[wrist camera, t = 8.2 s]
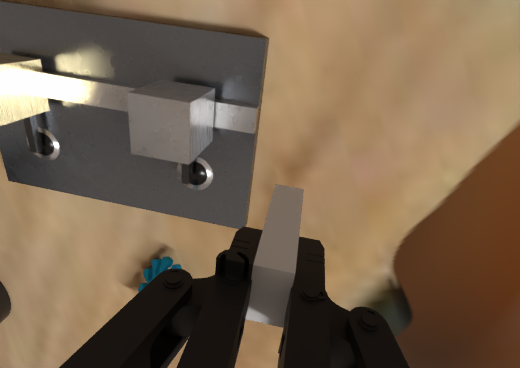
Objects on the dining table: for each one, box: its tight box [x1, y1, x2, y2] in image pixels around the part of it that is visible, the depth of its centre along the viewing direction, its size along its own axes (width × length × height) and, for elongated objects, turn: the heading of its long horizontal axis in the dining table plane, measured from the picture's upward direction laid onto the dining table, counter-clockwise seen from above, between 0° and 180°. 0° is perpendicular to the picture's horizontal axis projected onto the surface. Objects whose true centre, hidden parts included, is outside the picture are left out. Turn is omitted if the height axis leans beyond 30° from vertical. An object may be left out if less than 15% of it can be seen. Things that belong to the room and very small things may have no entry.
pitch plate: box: [0, 0, 269, 229], centre depth 32 cm, size 30×20×8 cm, turn 83°
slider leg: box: [127, 80, 215, 184], centre depth 29 cm, size 5×10×6 cm, turn 173°
